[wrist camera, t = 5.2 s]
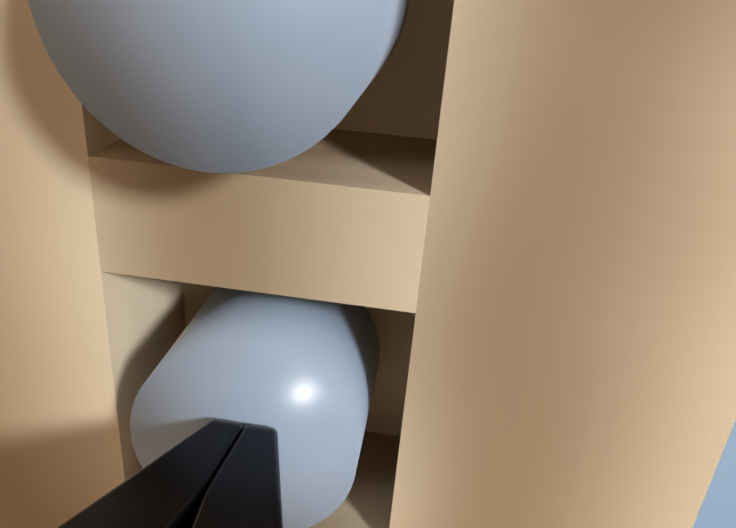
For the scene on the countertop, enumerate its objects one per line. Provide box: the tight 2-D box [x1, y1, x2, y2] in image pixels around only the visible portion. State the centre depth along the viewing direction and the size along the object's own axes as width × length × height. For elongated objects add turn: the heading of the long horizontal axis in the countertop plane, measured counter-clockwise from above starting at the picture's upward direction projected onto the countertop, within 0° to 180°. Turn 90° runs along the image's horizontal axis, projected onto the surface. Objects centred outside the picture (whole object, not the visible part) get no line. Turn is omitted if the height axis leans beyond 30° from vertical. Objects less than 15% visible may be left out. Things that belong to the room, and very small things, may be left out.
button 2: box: [130, 287, 380, 528], centre depth 10 cm, size 3×3×2 cm
